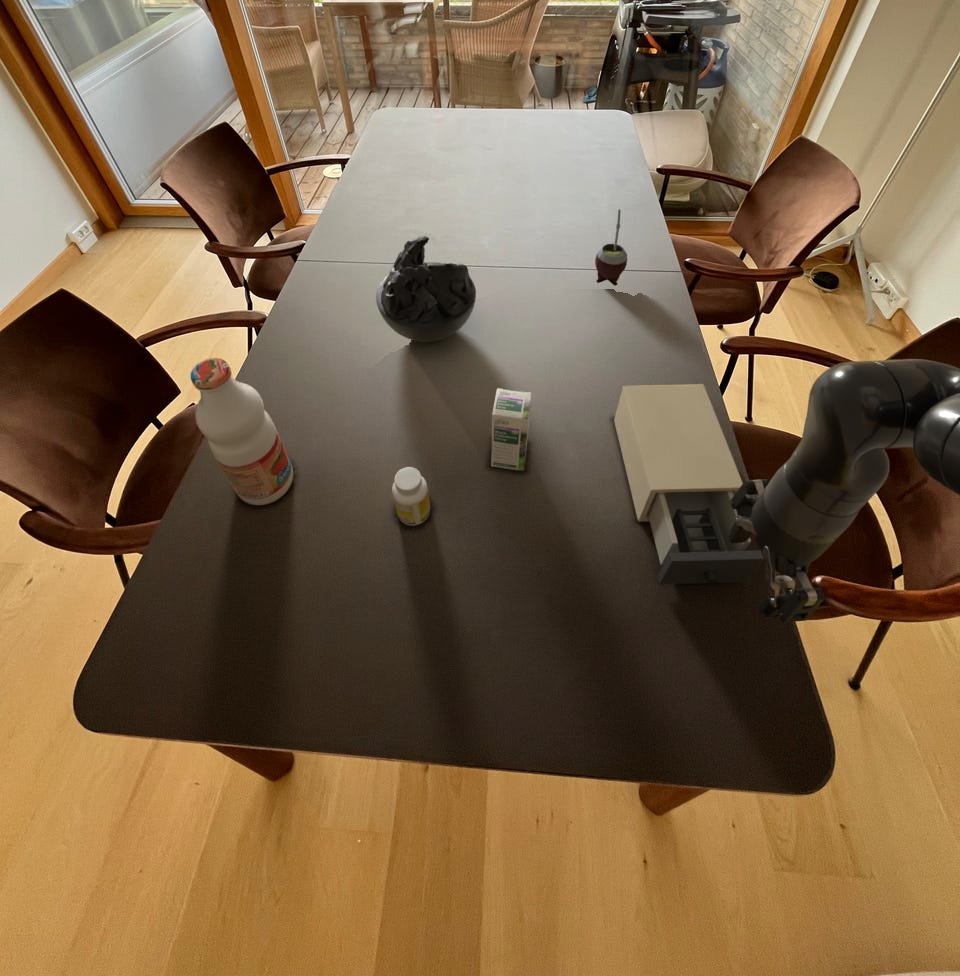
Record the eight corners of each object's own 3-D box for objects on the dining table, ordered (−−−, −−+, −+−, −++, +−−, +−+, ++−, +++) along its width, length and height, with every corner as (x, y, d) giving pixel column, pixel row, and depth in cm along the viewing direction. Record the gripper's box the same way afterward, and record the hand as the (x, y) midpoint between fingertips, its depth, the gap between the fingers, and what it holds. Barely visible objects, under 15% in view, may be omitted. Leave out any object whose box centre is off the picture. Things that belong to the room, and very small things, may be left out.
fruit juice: (231, 471, 97) (166, 359, 77) (286, 449, 100) (238, 336, 80) (243, 516, 91) (176, 408, 71) (301, 491, 94) (252, 381, 74)
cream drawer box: (724, 519, 90) (744, 487, 83) (638, 521, 90) (651, 490, 83) (688, 418, 104) (703, 383, 97) (613, 420, 104) (623, 385, 97)
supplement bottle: (425, 491, 94) (421, 458, 87) (434, 520, 90) (430, 488, 83) (393, 500, 93) (386, 468, 86) (401, 530, 89) (394, 499, 82)
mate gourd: (605, 291, 129) (616, 236, 119) (584, 272, 134) (592, 218, 124) (630, 280, 132) (643, 226, 121) (608, 262, 137) (619, 208, 126)
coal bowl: (453, 374, 112) (449, 302, 99) (364, 346, 117) (349, 275, 104) (490, 310, 125) (491, 239, 112) (408, 288, 130) (400, 218, 117)
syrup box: (490, 467, 97) (491, 415, 87) (495, 438, 101) (496, 386, 91) (523, 472, 96) (528, 420, 86) (527, 443, 100) (532, 390, 90)
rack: (702, 520, 88) (710, 507, 85) (717, 565, 83) (726, 553, 80) (670, 521, 88) (677, 509, 85) (684, 566, 83) (691, 555, 80)
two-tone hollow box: (748, 590, 82) (768, 567, 76) (661, 593, 81) (674, 570, 76) (706, 469, 96) (720, 443, 90) (631, 471, 95) (640, 444, 90)
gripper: (881, 574, 52) (810, 634, 64) (806, 444, 62) (756, 516, 74) (802, 581, 52) (744, 640, 63) (739, 449, 62) (699, 521, 73)
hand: (751, 573), depth 68 cm, fingers open, 8 cm apart
